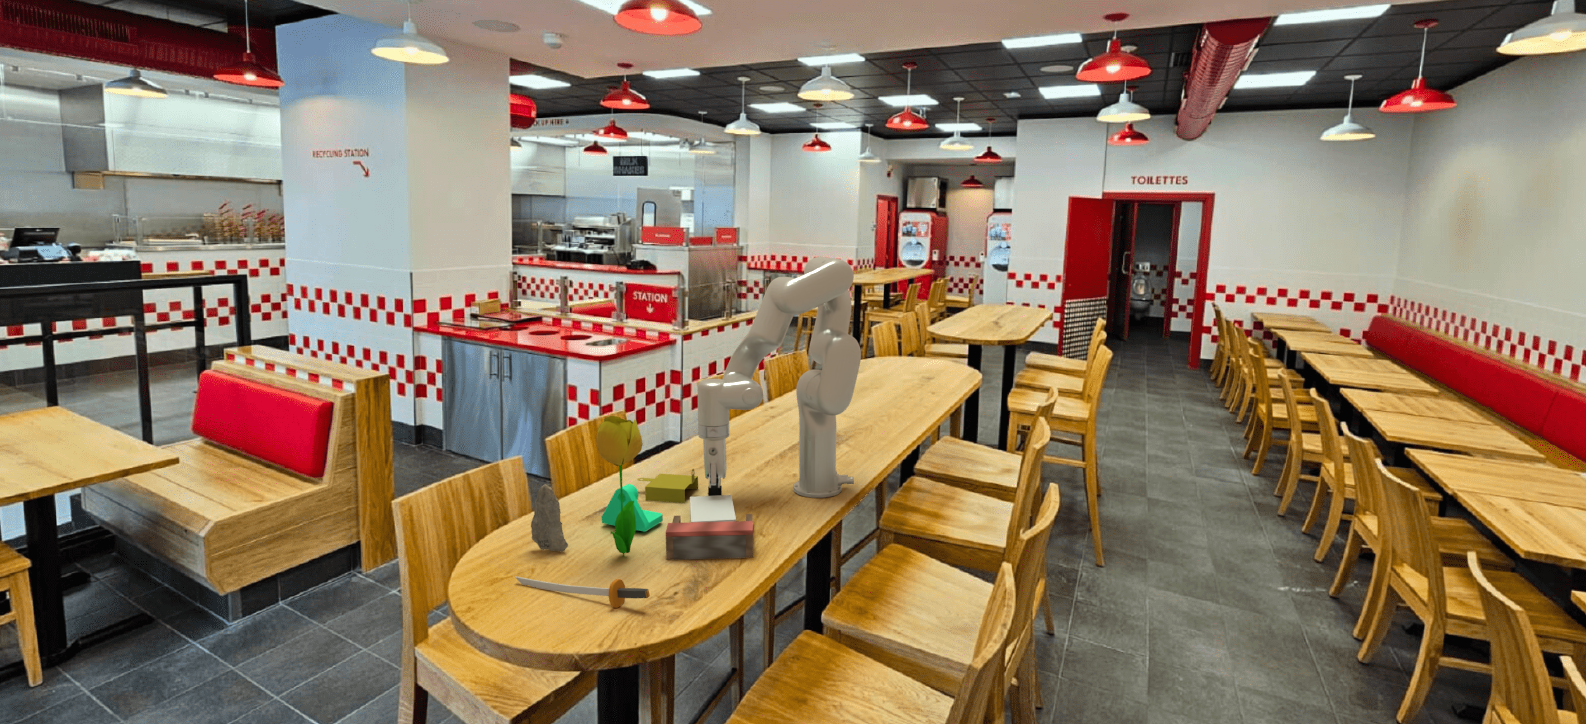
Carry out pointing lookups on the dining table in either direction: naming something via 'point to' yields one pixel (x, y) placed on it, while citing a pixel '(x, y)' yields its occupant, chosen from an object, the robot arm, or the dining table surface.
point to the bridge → (709, 539)
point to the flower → (620, 469)
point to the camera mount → (642, 517)
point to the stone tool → (547, 521)
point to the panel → (712, 509)
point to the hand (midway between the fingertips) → (715, 501)
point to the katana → (592, 590)
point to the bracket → (669, 487)
